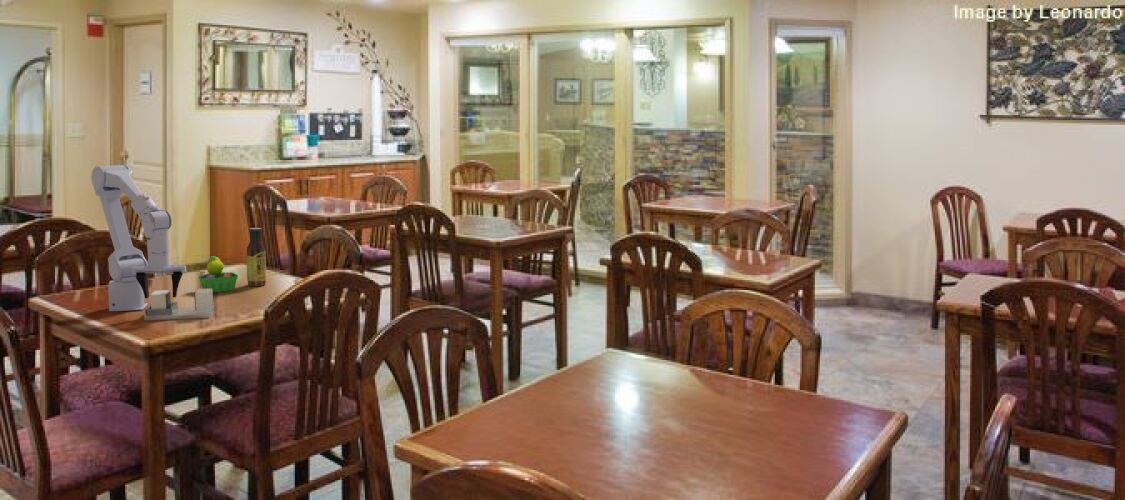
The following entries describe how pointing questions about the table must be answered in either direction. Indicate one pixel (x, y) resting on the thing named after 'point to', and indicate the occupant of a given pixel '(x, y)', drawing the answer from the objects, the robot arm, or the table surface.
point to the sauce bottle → (256, 259)
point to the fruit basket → (217, 277)
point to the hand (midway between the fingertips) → (160, 297)
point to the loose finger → (161, 299)
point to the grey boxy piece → (200, 310)
